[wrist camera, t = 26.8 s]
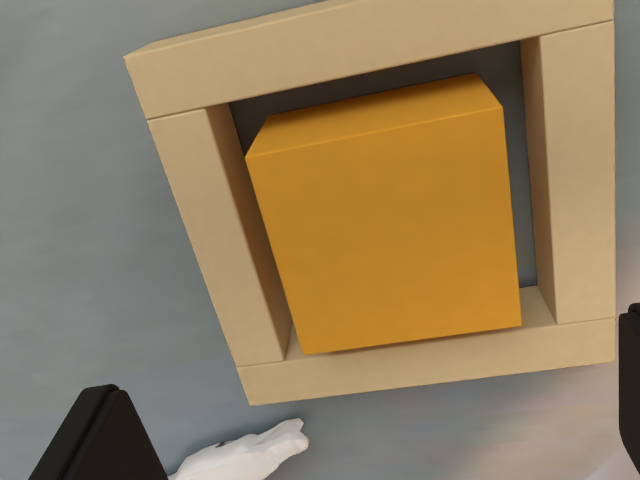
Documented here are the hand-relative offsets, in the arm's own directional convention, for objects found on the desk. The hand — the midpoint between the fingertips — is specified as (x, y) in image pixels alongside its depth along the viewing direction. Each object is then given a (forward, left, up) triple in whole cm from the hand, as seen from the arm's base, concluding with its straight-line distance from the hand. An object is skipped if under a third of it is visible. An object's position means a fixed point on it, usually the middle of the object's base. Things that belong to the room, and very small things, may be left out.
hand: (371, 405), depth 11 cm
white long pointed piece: (-11, -12, -10) cm, 19 cm away
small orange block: (+1, 0, -10) cm, 10 cm away
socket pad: (+1, 0, -10) cm, 10 cm away
